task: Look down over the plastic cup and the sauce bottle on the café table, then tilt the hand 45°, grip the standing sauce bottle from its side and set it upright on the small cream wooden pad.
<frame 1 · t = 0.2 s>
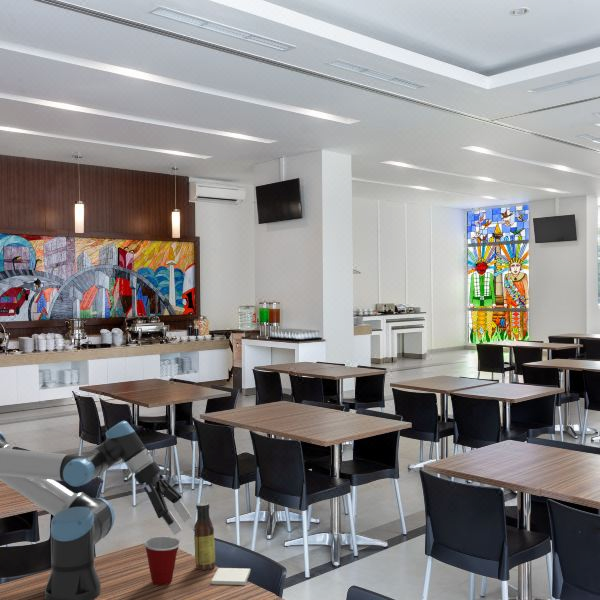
hand: (183, 525, 209), 16 cm above the table, tool tilted 35°, fingers open, 13 cm apart
cream pad: (231, 577, 209), on the table
plastic cup: (162, 582, 207), on the table
sauce bottle: (204, 567, 218), on the table
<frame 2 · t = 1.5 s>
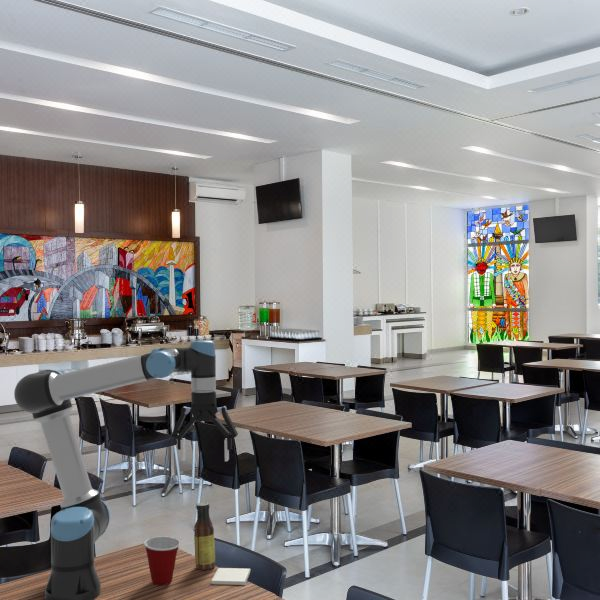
hand: (204, 460, 212), 35 cm above the table, tool pointing down, fingers open, 13 cm apart
nothing on the table moved.
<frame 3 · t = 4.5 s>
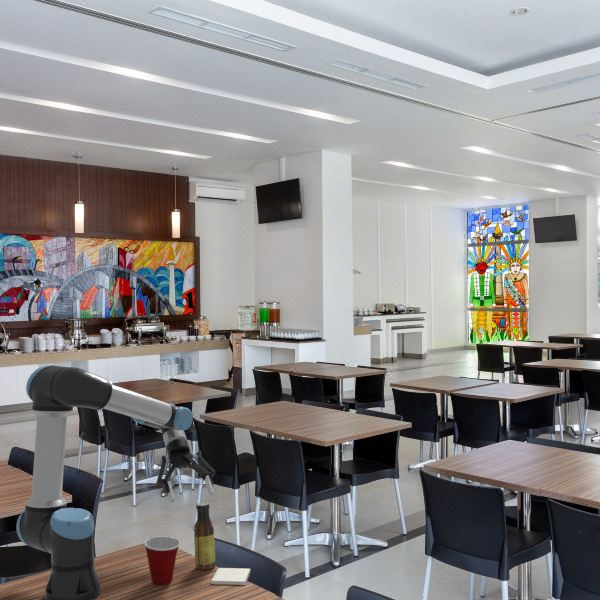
hand: (192, 497, 227), 19 cm above the table, tool tilted 45°, fingers open, 13 cm apart
nothing on the table moved.
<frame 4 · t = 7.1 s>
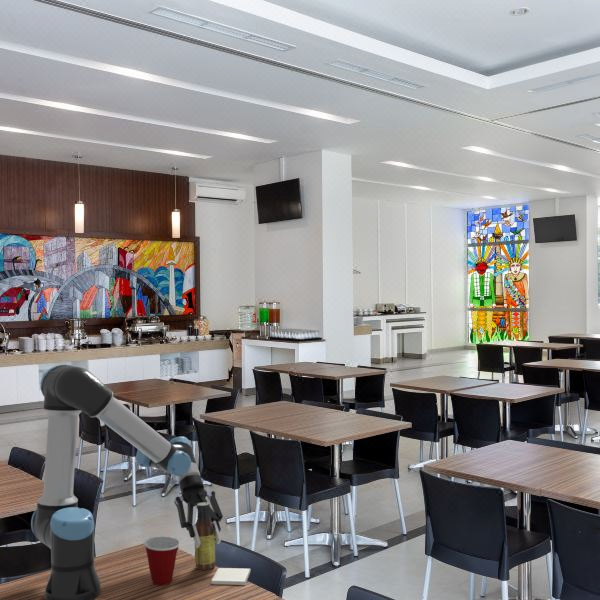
hand: (208, 543, 215), 8 cm above the table, tool tilted 45°, fingers closed on sauce bottle, 6 cm apart
sauce bottle: (204, 567, 218), on the table, touching gripper
everything else where it was.
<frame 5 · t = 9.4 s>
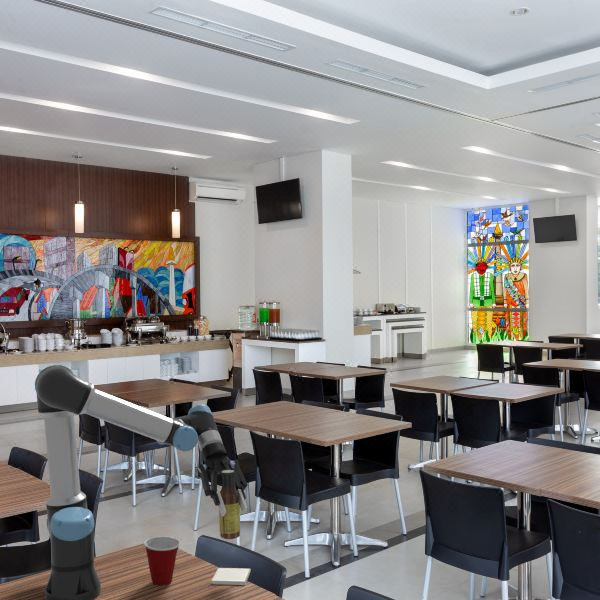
hand: (234, 511, 208), 20 cm above the table, tool tilted 45°, fingers closed on sauce bottle, 6 cm apart
sauce bottle: (229, 537, 211), point 12 cm above the table, touching gripper
everything else where it was.
when the fingers open (11 cm above the table, at t = 11.6 s): sauce bottle drops 1 cm, resting on cream pad.
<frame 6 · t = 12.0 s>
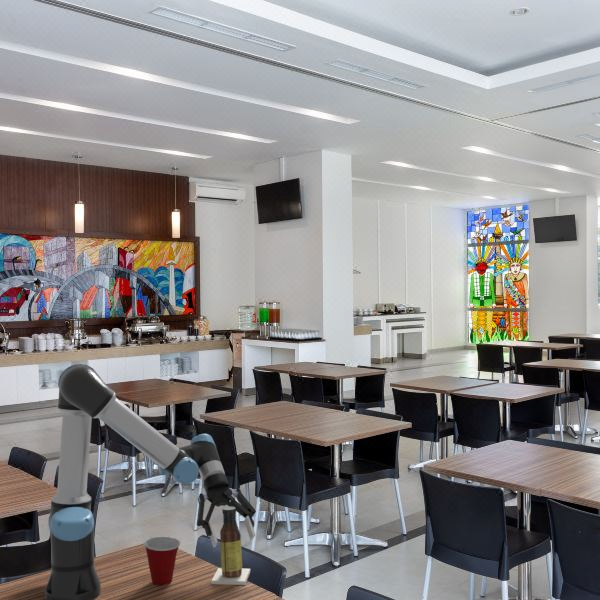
hand: (234, 541, 207), 12 cm above the table, tool tilted 45°, fingers open, 11 cm apart
sauce bottle: (231, 574, 209), point 1 cm above the table, touching cream pad
everything else where it was.
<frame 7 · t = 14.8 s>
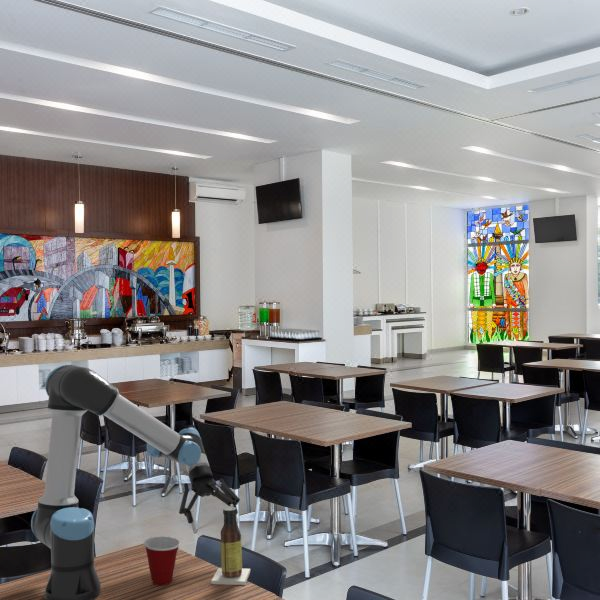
hand: (216, 527, 219), 12 cm above the table, tool tilted 45°, fingers open, 13 cm apart
nothing on the table moved.
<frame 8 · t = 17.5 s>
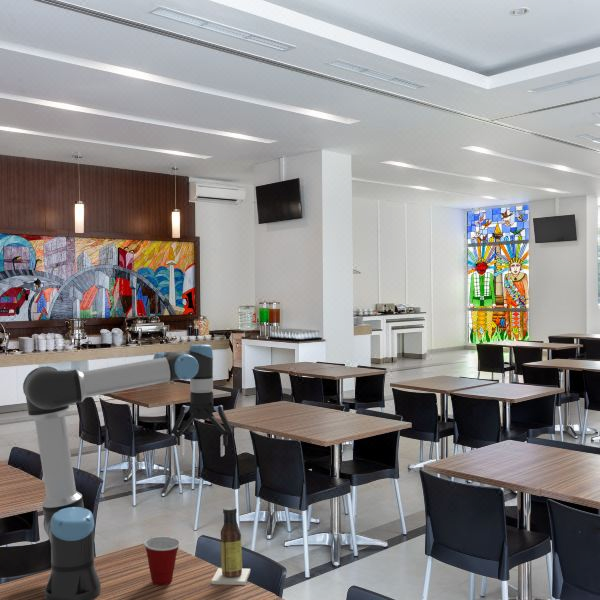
hand: (202, 455, 230), 33 cm above the table, tool pointing down, fingers open, 13 cm apart
nothing on the table moved.
at the end: sauce bottle 0.1 cm from the target spot, point 0.8 cm above the table; sauce bottle tilted 0°; the gripper is holding nothing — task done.
